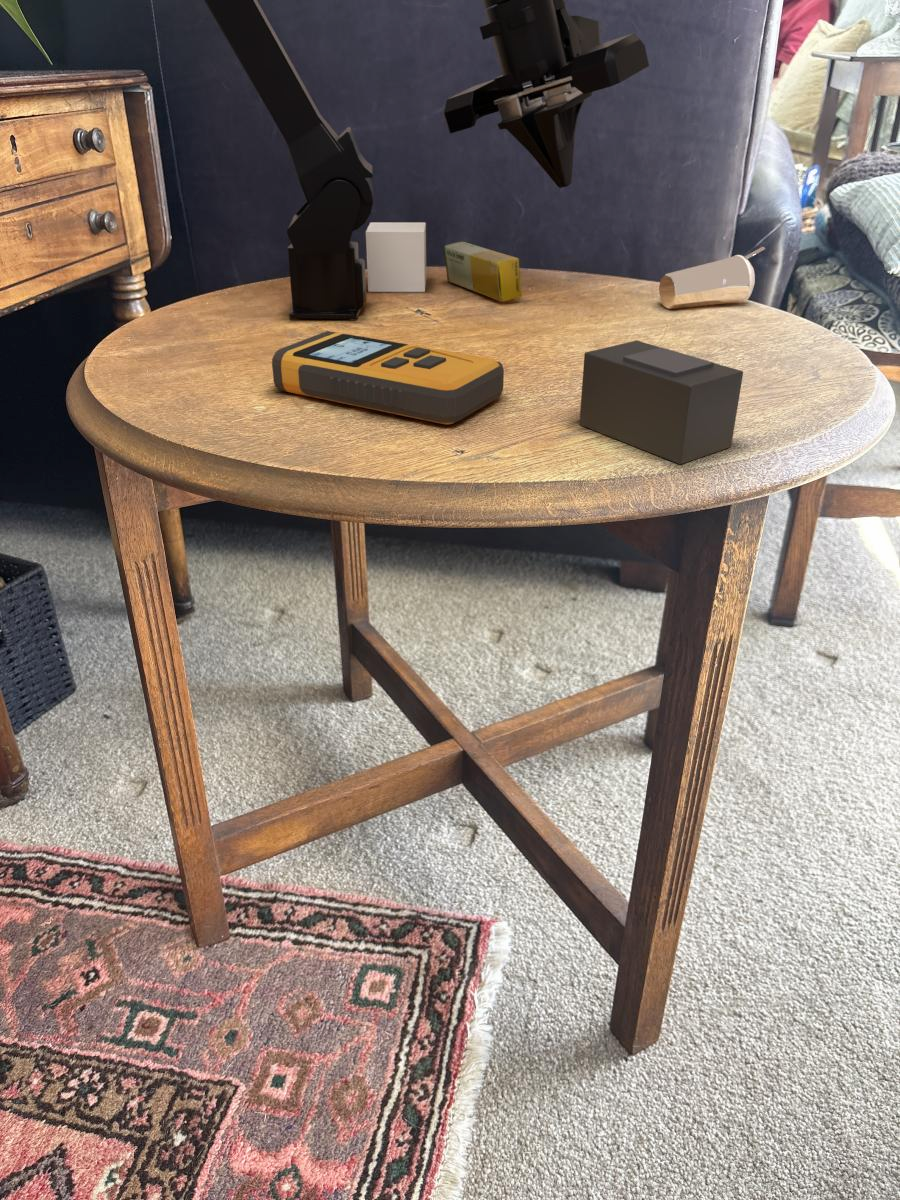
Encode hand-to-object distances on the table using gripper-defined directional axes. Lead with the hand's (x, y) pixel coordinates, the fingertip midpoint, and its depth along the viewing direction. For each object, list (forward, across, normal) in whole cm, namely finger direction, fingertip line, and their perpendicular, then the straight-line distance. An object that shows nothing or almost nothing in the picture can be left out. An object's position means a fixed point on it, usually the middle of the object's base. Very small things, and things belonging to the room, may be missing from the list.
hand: (565, 185), depth 87 cm
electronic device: (+5, -3, +32) cm, 33 cm away
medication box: (+8, +13, +2) cm, 15 cm away
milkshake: (+12, -6, -4) cm, 14 cm away
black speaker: (+8, -18, +26) cm, 33 cm away
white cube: (+6, +21, +4) cm, 22 cm away
